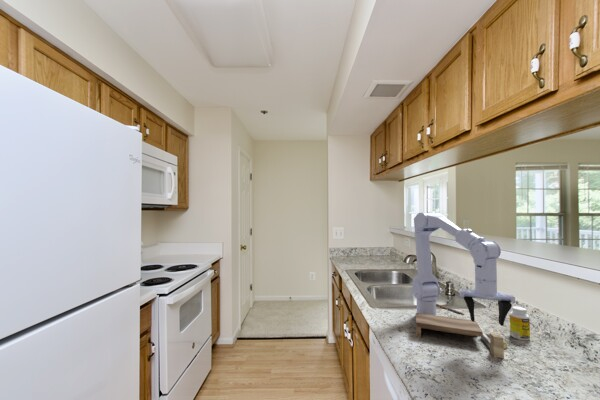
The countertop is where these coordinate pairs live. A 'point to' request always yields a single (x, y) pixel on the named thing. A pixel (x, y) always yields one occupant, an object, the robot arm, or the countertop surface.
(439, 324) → the low wooden bench
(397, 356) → the countertop surface
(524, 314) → the supplement bottle
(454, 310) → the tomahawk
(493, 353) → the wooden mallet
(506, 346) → the brass disc
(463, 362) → the countertop surface
